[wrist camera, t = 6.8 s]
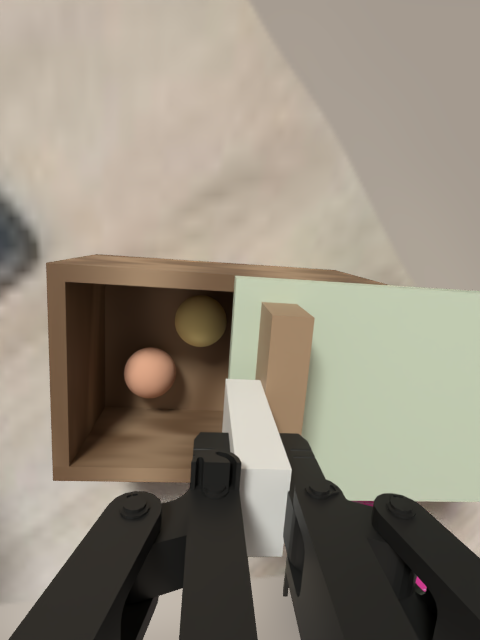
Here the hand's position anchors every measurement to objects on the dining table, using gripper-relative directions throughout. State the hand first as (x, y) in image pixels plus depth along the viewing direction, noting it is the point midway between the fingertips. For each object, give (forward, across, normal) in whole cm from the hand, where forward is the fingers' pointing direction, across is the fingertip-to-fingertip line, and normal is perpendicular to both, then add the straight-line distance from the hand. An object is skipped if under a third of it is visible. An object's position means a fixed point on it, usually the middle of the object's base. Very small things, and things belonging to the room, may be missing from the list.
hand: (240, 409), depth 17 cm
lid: (+2, +8, 0) cm, 8 cm away
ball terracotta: (+10, -5, -2) cm, 11 cm away
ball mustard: (+10, -2, +2) cm, 10 cm away
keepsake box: (+11, -1, 0) cm, 11 cm away
